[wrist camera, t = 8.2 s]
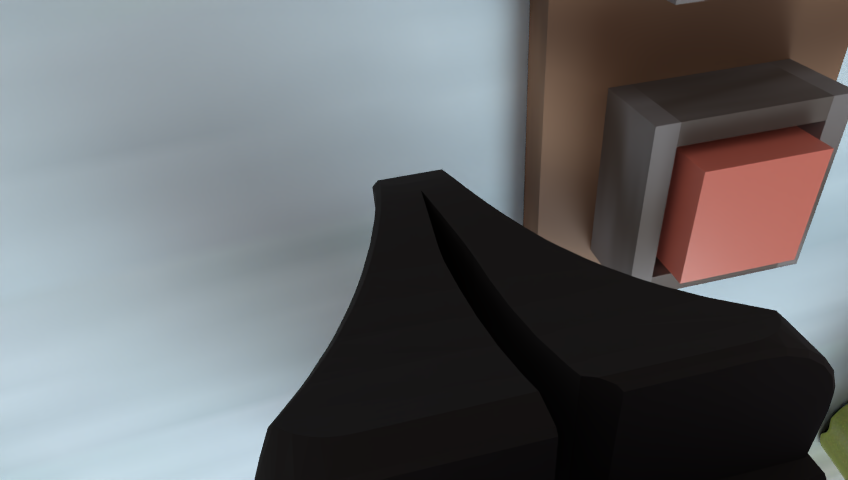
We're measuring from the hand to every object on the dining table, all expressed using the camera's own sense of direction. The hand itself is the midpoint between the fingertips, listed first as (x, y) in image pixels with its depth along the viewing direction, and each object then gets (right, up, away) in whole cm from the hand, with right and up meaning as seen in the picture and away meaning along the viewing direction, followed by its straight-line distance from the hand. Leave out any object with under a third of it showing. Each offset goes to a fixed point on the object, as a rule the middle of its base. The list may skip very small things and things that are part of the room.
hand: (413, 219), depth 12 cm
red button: (+10, +2, +10) cm, 14 cm away
